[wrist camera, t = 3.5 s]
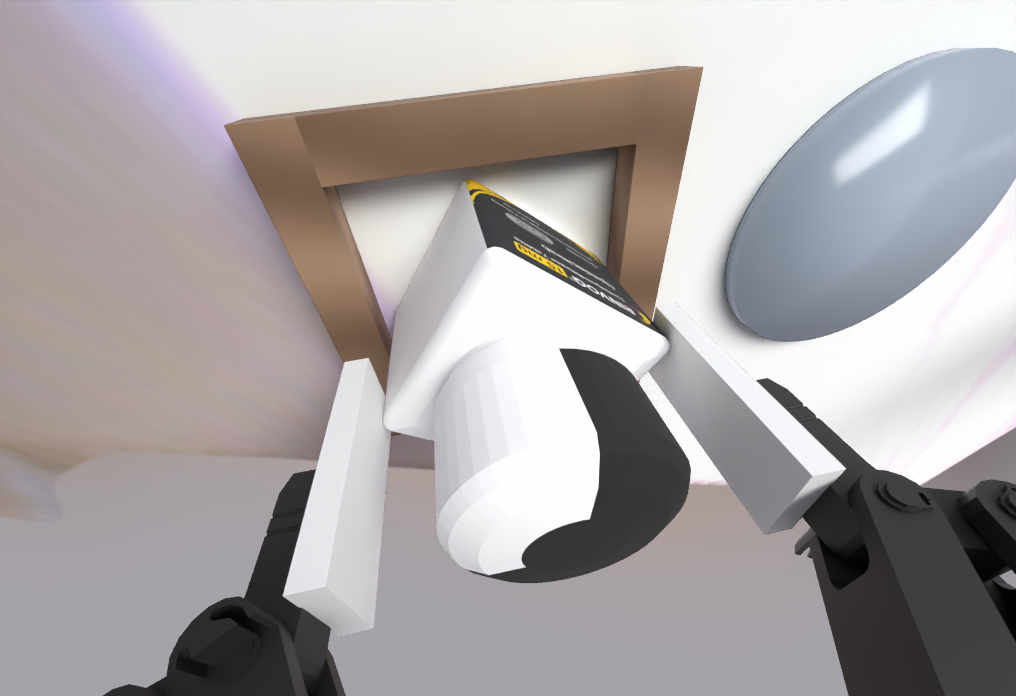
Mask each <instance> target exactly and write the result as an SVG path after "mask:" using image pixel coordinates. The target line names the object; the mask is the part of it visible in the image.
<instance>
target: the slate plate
mask: <svg viewBox="0 0 1016 696" xmlns="http://www.w3.org/2000/svg"><path fill="white" fill-rule="evenodd" d="M1015 178H1016V53H1014V52H1012V51H1008V50H1003V49H998V48H964V49H949V50H944V51H939V52H934V53H930V54H927V55H924V56H921V57H919V58H916V59H913V60H910V61H908V62H905V63H903V64H901V65H899V66H897V67H895V68H893V69H891V70H889V71H887V72H885V73H883V74H881V75H880V76H878V77H877V78H875V79H873V80H872V81H870V82H869V83H867V84H865V85H864V86H862V87H860V88H859V89H857V90H856V91H855V92H853V93H852V94H851V95H849V96H848V97H847V98H845V99H844V100H843V101H841V102H840V103H839V104H837V105H836V106H835V107H834V108H832V109H831V110H830V111H829V112H828V113H827V114H826V115H824V116H823V117H822V118H821V119H820V120H819V121H818V122H816V123H815V124H814V125H813V126H812V127H811V128H810V129H809V130H808V131H807V132H806V133H805V134H804V135H803V136H802V137H801V138H800V139H799V140H798V141H797V142H796V143H795V144H794V145H793V147H792V148H791V149H790V150H789V151H788V152H787V154H786V155H785V156H784V157H783V158H782V160H781V161H780V162H779V163H778V164H777V165H776V167H775V168H774V169H773V171H772V172H771V174H770V175H769V176H768V178H767V179H766V180H765V182H764V183H763V185H762V186H761V187H760V189H759V191H758V192H757V194H756V195H755V197H754V199H753V200H752V202H751V204H750V205H749V207H748V209H747V211H746V213H745V215H744V217H743V219H742V221H741V223H740V225H739V227H738V229H737V232H736V235H735V237H734V240H733V243H732V245H731V249H730V253H729V257H728V260H727V267H726V275H725V285H726V294H727V299H728V302H729V305H730V307H731V309H732V311H733V313H734V314H735V315H736V317H737V318H738V319H739V320H740V321H741V322H742V323H744V324H745V325H746V326H747V327H748V328H749V329H751V330H752V331H753V332H754V333H756V334H758V335H760V336H762V337H764V338H767V339H771V340H774V341H783V342H793V341H803V340H810V339H815V338H819V337H823V336H826V335H829V334H832V333H835V332H838V331H841V330H843V329H846V328H848V327H850V326H853V325H855V324H857V323H859V322H861V321H863V320H865V319H867V318H869V317H871V316H873V315H875V314H876V313H878V312H880V311H882V310H883V309H885V308H887V307H888V306H890V305H891V304H893V303H894V302H896V301H897V300H899V299H901V298H902V297H903V296H905V295H906V294H908V293H909V292H910V291H912V290H913V289H914V288H916V287H917V286H918V285H920V284H921V283H922V282H923V281H925V280H926V279H927V278H928V277H930V276H931V275H932V274H933V273H935V272H936V271H937V270H938V269H939V268H940V267H941V266H942V265H944V264H945V263H946V262H947V261H948V260H949V259H950V258H951V257H952V256H953V255H954V254H955V253H956V252H957V251H958V250H959V249H960V248H961V247H962V246H963V245H964V244H965V243H966V242H967V241H968V240H969V239H970V238H971V237H972V236H973V235H974V233H975V232H976V231H977V230H978V229H979V228H980V227H981V226H982V224H983V223H984V222H985V221H986V219H987V218H988V217H989V216H990V214H991V213H992V212H993V211H994V209H995V208H996V207H997V205H998V204H999V202H1000V201H1001V200H1002V198H1003V197H1004V195H1005V194H1006V193H1007V191H1008V190H1009V188H1010V186H1011V185H1012V183H1013V181H1014V180H1015Z"/></svg>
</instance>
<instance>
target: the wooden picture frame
mask: <svg viewBox="0 0 1016 696" xmlns="http://www.w3.org/2000/svg"><path fill="white" fill-rule="evenodd" d="M702 71H703V67H688V66H676V67H668V68H660V69H651V70H643V71H635V72H626V73H618V74H610V75H602V76H593V77H585V78H577V79H569V80H560V81H552V82H544V83H536V84H527V85H519V86H511V87H502V88H494V89H486V90H478V91H469V92H461V93H453V94H445V95H436V96H428V97H420V98H412V99H403V100H395V101H387V102H378V103H370V104H362V105H354V106H345V107H337V108H329V109H321V110H312V111H304V112H296V113H288V114H279V115H271V116H263V117H254V118H246V119H242V120H239V121H236V122H233V123H230V124H227V125H224V127H225V129H226V131H227V133H228V135H229V137H230V139H231V141H232V143H233V145H234V147H235V149H236V151H237V152H238V154H239V156H240V158H241V160H242V162H243V164H244V166H245V168H246V170H247V172H248V174H249V176H250V178H251V180H252V182H253V184H254V186H255V188H256V190H257V192H258V194H259V196H260V198H261V200H262V202H263V204H264V206H265V208H266V210H267V212H268V214H269V216H270V218H271V220H272V222H273V224H274V226H275V228H276V230H277V232H278V234H279V236H280V238H281V240H282V242H283V244H284V246H285V248H286V250H287V252H288V254H289V256H290V258H291V260H292V262H293V264H294V266H295V267H296V269H297V271H298V273H299V275H300V277H301V279H302V281H303V283H304V285H305V287H306V289H307V291H308V293H309V295H310V297H311V299H312V301H313V303H314V305H315V307H316V309H317V311H318V313H319V315H320V317H321V319H322V321H323V323H324V325H325V327H326V329H327V331H328V333H329V335H330V337H331V339H332V341H333V343H334V345H335V347H336V349H337V351H338V353H339V355H340V357H341V359H342V361H343V363H344V362H348V361H354V360H359V359H365V358H369V360H370V362H371V365H372V367H373V369H374V371H375V374H376V376H377V378H378V381H379V383H380V385H381V387H382V390H383V392H384V394H385V396H386V389H387V380H388V372H389V363H390V355H391V346H392V340H391V337H390V334H389V332H388V329H387V326H386V324H385V321H384V318H383V315H382V313H381V310H380V307H379V305H378V302H377V299H376V297H375V294H374V291H373V288H372V286H371V283H370V280H369V278H368V275H367V272H366V270H365V267H364V264H363V262H362V259H361V256H360V253H359V251H358V248H357V245H356V243H355V240H354V237H353V235H352V232H351V229H350V226H349V224H348V221H347V218H346V216H345V213H344V210H343V208H342V205H341V202H340V199H339V197H338V194H337V191H336V189H335V186H336V185H343V184H350V183H357V182H365V181H372V180H379V179H386V178H394V177H401V176H408V175H415V174H423V173H430V172H437V171H444V170H452V169H459V168H466V167H473V166H481V165H488V164H495V163H502V162H509V161H517V160H524V159H531V158H538V157H546V156H553V155H560V154H567V153H575V152H582V151H589V150H596V149H604V148H611V147H618V156H617V166H616V177H615V187H614V197H613V208H612V218H611V229H610V239H609V250H608V260H607V269H608V271H609V272H610V273H611V274H612V275H613V276H614V278H615V279H616V280H617V281H618V282H619V283H620V285H621V286H622V287H623V288H624V289H625V290H626V291H627V293H628V294H629V295H630V296H631V297H632V298H633V300H634V301H635V302H636V303H637V304H638V305H639V307H640V308H641V309H642V310H643V311H644V312H645V314H646V315H647V316H648V317H649V318H650V319H651V321H652V317H653V312H654V307H655V302H656V297H657V292H658V287H659V283H660V278H661V273H662V268H663V263H664V258H665V253H666V248H667V243H668V238H669V233H670V228H671V224H672V219H673V214H674V209H675V204H676V199H677V194H678V189H679V184H680V179H681V174H682V169H683V165H684V160H685V155H686V150H687V145H688V140H689V135H690V130H691V125H692V120H693V115H694V110H695V106H696V101H697V96H698V91H699V86H700V81H701V76H702ZM639 381H640V380H639ZM639 381H638V383H639ZM398 434H401V433H397V432H392V431H391V436H393V435H398Z"/></svg>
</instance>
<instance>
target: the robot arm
mask: <svg viewBox="0 0 1016 696" xmlns="http://www.w3.org/2000/svg"><path fill="white" fill-rule="evenodd" d="M653 323H654V324H655V325H656V326H657V328H658V329H659V330H660V331H661V332H662V333H663V335H664V336H665V337H666V338H667V339H668V341H669V343H670V349H669V350H668V352H667V353H666V355H664V356H663V357H662V358H661V359H660V360H659V361H658V362H657V363H656V364H655V365H654V366H653V367H652V368H651V369H650V370H649V371H648V372H649V373H650V374H651V376H652V377H653V379H654V380H655V382H656V383H657V384H658V386H659V387H660V389H661V390H662V391H663V393H664V394H665V396H666V397H667V398H668V400H669V401H670V403H671V404H672V405H673V407H674V408H675V410H676V411H677V413H678V414H679V415H680V417H681V418H682V420H683V421H684V422H685V424H686V425H687V427H688V428H689V429H690V431H691V432H692V434H693V435H694V436H695V438H696V439H697V441H698V442H699V444H700V445H701V446H702V448H703V449H704V451H705V452H706V453H707V455H708V456H709V458H710V459H711V460H712V462H713V463H714V465H715V466H716V467H717V469H718V470H719V472H720V473H721V475H722V476H723V477H724V479H725V480H726V482H727V483H728V484H729V486H730V487H731V489H732V490H733V491H734V493H735V494H736V496H737V497H738V498H739V500H740V501H741V503H742V504H743V505H744V507H745V508H746V510H747V511H748V512H749V514H750V515H751V516H752V518H753V520H754V521H755V522H756V524H757V525H758V526H759V528H760V529H761V531H762V532H763V534H764V535H766V534H771V533H775V532H779V531H783V530H787V529H792V528H793V527H794V526H795V525H796V523H797V522H798V521H799V520H800V519H801V518H802V517H803V518H804V519H805V521H806V522H807V523H808V524H809V526H810V529H809V530H808V531H807V532H806V533H805V534H804V535H803V536H802V537H801V538H800V539H799V540H798V541H797V543H796V544H795V554H797V555H801V554H802V553H803V552H804V551H805V550H806V549H807V548H808V547H810V551H809V553H808V555H807V556H808V557H809V558H812V559H813V562H814V566H815V570H816V574H817V578H818V581H819V585H820V589H821V593H822V596H823V600H824V604H825V608H826V612H827V615H828V619H829V623H830V627H831V630H832V634H833V638H834V642H835V646H836V650H837V653H838V657H839V661H840V665H841V669H842V672H843V676H844V680H845V684H846V687H847V691H848V695H849V696H1016V588H1014V587H1012V586H1011V585H1009V584H1007V583H1006V582H1005V581H1004V580H1003V579H1002V578H1001V577H1000V576H999V575H1001V574H1003V573H1005V572H1007V571H1010V570H1012V571H1013V572H1014V573H1015V574H1016V485H1015V484H1012V483H1009V482H1005V481H998V480H986V481H981V482H979V483H978V484H976V485H975V486H974V487H972V488H971V489H969V490H968V491H967V492H963V491H952V490H943V489H932V488H922V487H921V486H919V485H918V484H917V483H915V482H913V481H911V480H909V479H907V478H906V477H904V476H902V475H899V474H896V473H892V472H889V471H885V470H876V469H875V468H874V467H872V466H871V465H870V464H869V463H867V462H866V461H865V460H864V459H863V458H862V457H861V456H860V455H858V454H857V453H856V452H855V451H854V450H853V449H852V448H851V447H850V446H849V445H848V444H846V443H845V442H844V441H843V440H842V439H841V438H840V437H839V436H838V435H837V434H836V433H834V432H833V431H832V430H831V429H830V428H829V427H828V426H827V425H826V424H825V423H824V422H822V421H821V420H820V419H819V418H818V419H817V418H816V415H815V414H814V413H813V412H812V411H810V410H809V409H808V408H807V407H806V406H805V407H804V406H803V403H802V402H801V401H800V400H798V399H797V398H796V397H795V396H794V395H793V394H792V393H791V392H790V391H789V390H788V389H786V388H784V387H782V386H781V385H779V384H777V383H775V382H773V381H772V380H770V379H768V378H766V379H761V380H755V379H754V378H753V377H752V376H751V375H750V374H749V373H748V372H747V371H746V370H745V369H744V368H743V367H742V366H741V365H740V364H739V363H738V362H737V361H736V360H735V359H734V358H732V357H731V356H730V355H729V354H728V353H727V352H726V351H725V350H724V349H723V348H722V347H721V346H720V345H719V344H718V343H717V342H716V341H715V340H714V339H713V338H712V337H711V336H710V335H709V334H708V333H707V332H706V331H705V330H704V329H703V328H702V327H701V326H700V325H699V324H698V323H697V322H696V321H695V320H694V319H693V318H692V317H691V316H690V315H688V314H687V313H686V312H685V311H684V310H683V309H682V308H681V307H680V306H679V305H678V304H677V303H675V304H669V305H663V306H658V307H656V309H655V314H654V319H653ZM385 398H386V396H385V394H384V392H383V390H382V387H381V385H380V383H379V381H378V378H377V376H376V374H375V371H374V369H373V367H372V365H371V362H370V360H369V358H365V359H359V360H354V361H348V362H344V366H343V370H342V374H341V377H340V381H339V385H338V389H337V393H336V396H335V400H334V404H333V408H332V411H331V415H330V419H329V423H328V427H327V430H326V434H325V438H324V442H323V445H322V449H321V453H320V457H319V461H318V464H317V468H316V469H315V470H310V471H305V472H300V473H295V474H293V475H292V477H291V478H290V480H289V481H288V482H287V484H286V485H285V487H284V488H283V489H282V491H281V492H280V493H279V496H278V499H277V502H276V506H275V508H274V511H273V514H272V515H273V518H272V519H271V521H270V523H269V527H268V530H267V536H266V537H265V538H264V541H263V544H262V547H261V550H260V553H259V556H258V559H257V562H256V565H255V568H254V572H253V574H252V577H251V580H250V583H249V586H248V589H247V592H246V595H245V598H242V597H233V598H225V599H223V600H221V601H219V602H217V603H215V604H213V605H211V606H209V607H208V608H207V609H206V610H204V611H203V612H202V613H201V614H200V615H199V616H197V617H196V618H195V619H194V620H193V621H192V622H191V623H190V625H189V626H188V627H187V628H186V630H185V631H184V632H183V634H182V635H181V636H180V637H179V639H178V641H177V643H176V645H175V647H174V649H173V652H172V653H171V656H170V658H169V664H168V670H167V676H166V677H165V678H163V679H161V680H160V681H158V682H156V683H154V684H153V685H151V686H149V687H147V688H143V687H139V686H135V685H130V684H128V685H125V686H122V687H119V688H116V689H112V690H111V691H109V692H108V693H106V694H105V695H103V696H346V695H345V692H344V689H343V687H342V683H341V680H340V677H339V674H338V671H337V668H336V665H335V662H334V659H333V656H332V655H331V653H330V651H329V650H328V642H329V636H330V630H332V631H333V632H335V633H336V634H338V635H339V636H342V635H346V634H350V633H355V632H358V631H363V630H367V629H371V628H373V627H374V616H375V605H376V594H377V583H378V572H379V561H380V550H381V539H382V528H383V517H384V506H385V495H386V483H387V472H388V462H389V451H390V440H391V431H390V430H388V429H386V428H385V427H384V424H383V415H384V406H385Z"/></svg>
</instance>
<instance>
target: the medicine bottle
mask: <svg viewBox="0 0 1016 696" xmlns="http://www.w3.org/2000/svg"><path fill="white" fill-rule="evenodd" d="M669 349H670V343H669V341H668V339H667V338H666V337H665V336H664V335H663V333H662V332H661V331H660V330H659V329H658V328H657V326H656V325H655V324H654V323H653V322H652V321H651V319H650V318H649V317H648V316H647V315H646V314H645V312H644V311H643V310H642V309H641V308H640V307H639V305H638V304H637V303H636V302H635V301H634V300H633V298H632V297H631V296H630V295H629V294H628V293H627V291H626V290H625V289H624V288H623V287H622V286H621V285H620V283H619V282H618V281H617V280H616V279H615V278H614V276H613V275H612V274H611V273H610V272H609V271H608V269H607V268H606V267H605V266H604V265H603V264H602V262H601V261H600V260H599V259H598V258H597V257H596V255H594V254H593V253H591V252H589V251H588V250H586V249H585V248H583V247H581V246H580V245H578V244H577V243H575V242H573V241H572V240H570V239H568V238H567V237H565V236H564V235H562V234H560V233H559V232H557V231H556V230H554V229H552V228H551V227H549V226H548V225H546V224H544V223H543V222H541V221H540V220H538V219H536V218H535V217H533V216H532V215H530V214H528V213H527V212H525V211H523V210H522V209H520V208H519V207H517V206H515V205H514V204H512V203H511V202H509V201H507V200H506V199H504V198H503V197H501V196H499V195H498V194H496V193H495V192H493V191H491V190H490V189H488V188H487V187H485V186H483V185H482V184H480V183H478V182H477V181H475V180H472V179H468V180H465V181H464V182H463V183H462V185H461V186H460V188H459V190H458V192H457V194H456V196H455V198H454V200H453V202H452V204H451V206H450V208H449V210H448V212H447V213H446V215H445V217H444V219H443V221H442V223H441V225H440V227H439V229H438V231H437V233H436V235H435V237H434V239H433V241H432V242H431V244H430V246H429V248H428V250H427V252H426V254H425V256H424V258H423V260H422V262H421V264H420V266H419V268H418V270H417V271H416V273H415V275H414V277H413V279H412V281H411V283H410V285H409V287H408V289H407V291H406V293H405V295H404V297H403V298H402V300H401V302H400V304H399V306H398V308H397V310H396V313H395V321H394V329H393V338H392V346H391V355H390V363H389V372H388V380H387V389H386V398H385V406H384V415H383V424H384V427H385V428H386V429H388V430H390V431H392V432H397V433H401V434H405V435H410V436H414V437H418V438H422V439H427V440H431V441H434V450H435V493H436V531H437V536H438V540H439V542H440V544H441V546H442V547H443V549H444V550H445V551H446V552H447V553H448V554H449V555H450V556H451V557H452V558H453V559H454V561H456V563H457V564H459V565H460V566H461V567H463V568H464V569H466V570H468V571H470V572H472V573H475V574H479V575H482V576H486V577H490V578H494V579H499V580H503V581H508V582H516V583H541V582H551V581H557V580H563V579H568V578H572V577H577V576H580V575H584V574H587V573H590V572H593V571H597V570H599V569H602V568H605V567H607V566H610V565H612V564H614V563H616V562H619V561H620V560H623V559H625V558H627V557H628V556H630V555H632V554H634V553H635V552H637V551H639V550H640V549H641V548H643V547H644V546H646V545H647V544H648V543H649V542H651V541H652V540H653V539H654V538H655V537H656V536H657V535H658V534H659V533H660V532H661V531H662V530H663V529H664V528H665V527H666V526H667V525H668V524H669V523H670V522H671V521H672V520H673V519H674V518H675V516H676V515H677V514H678V512H679V511H680V510H681V508H682V506H683V505H684V503H685V500H686V497H687V494H688V489H689V483H690V474H691V468H690V464H689V460H688V458H687V457H686V455H685V453H684V452H683V450H682V449H681V447H680V446H679V444H678V443H677V441H676V439H675V438H674V436H673V435H672V433H671V432H670V430H669V429H668V427H667V426H666V424H665V423H664V421H663V420H662V418H661V417H660V415H659V413H658V412H657V410H656V409H655V407H654V406H653V404H652V403H651V401H650V400H649V398H648V397H647V395H646V394H645V392H644V391H643V389H642V387H641V386H640V384H639V383H638V381H639V380H640V379H641V378H642V377H643V376H644V375H645V374H646V373H647V372H648V371H649V370H650V369H651V368H652V367H653V366H654V365H655V364H656V363H657V362H658V361H659V360H660V359H661V358H662V357H663V356H664V355H666V353H667V352H668V350H669Z"/></svg>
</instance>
